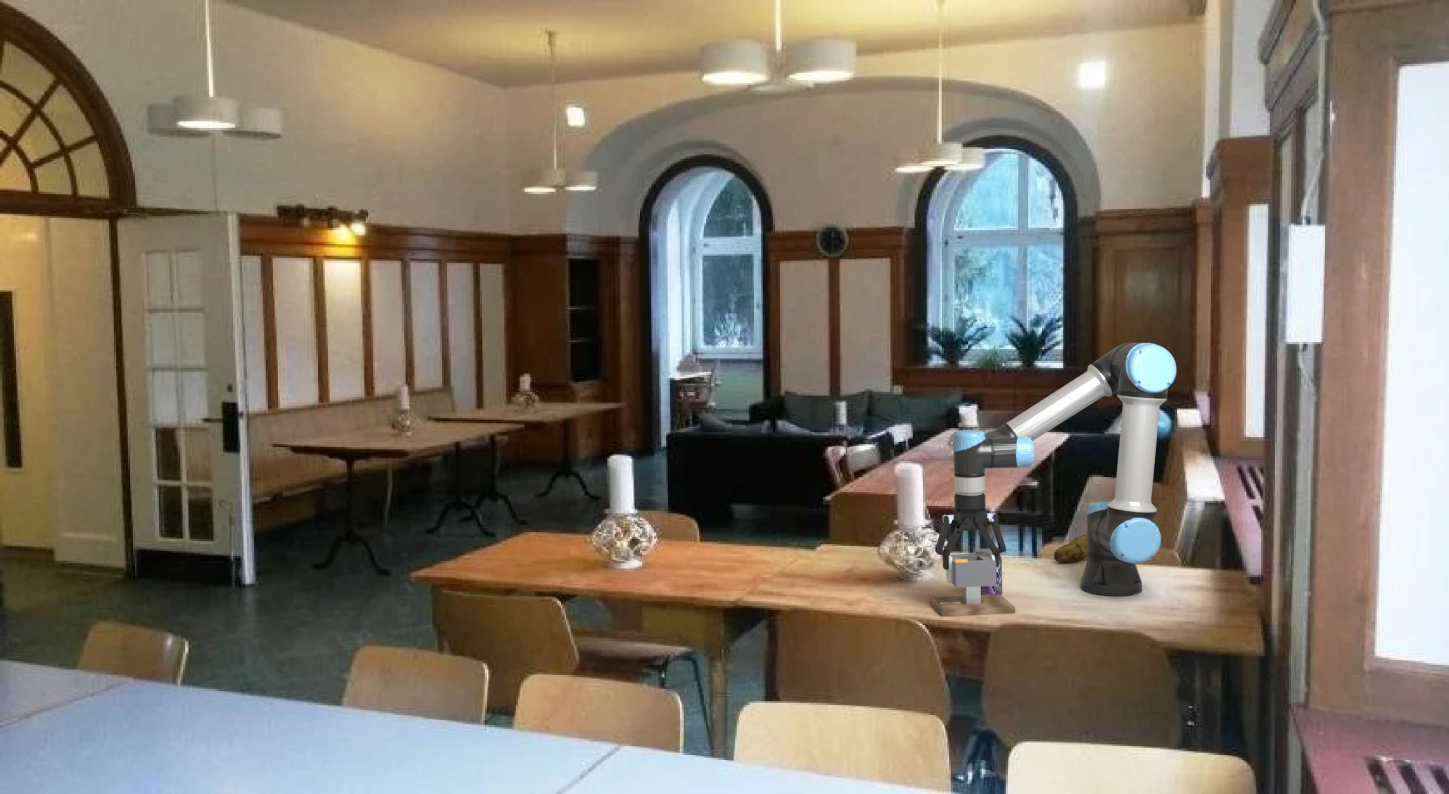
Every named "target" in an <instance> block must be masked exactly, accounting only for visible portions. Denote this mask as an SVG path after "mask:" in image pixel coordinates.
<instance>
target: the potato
mask: <svg viewBox="0 0 1449 794" xmlns="http://www.w3.org/2000/svg"><path fill="white" fill-rule="evenodd" d="M1053 558H1054V560H1055V561H1056V562H1057V563H1059V564H1066V563H1067V564H1071V563H1078V562H1081V561H1083V560H1085V559H1086V558H1087V559H1088V543H1087V533H1086V534H1081V535H1080V536H1077V537H1075V538H1074V539H1072V540H1071V541H1070V542H1068V544H1064V545H1062V546H1060V547H1059V548H1057V549H1056V550H1055V551H1054V552H1053Z"/></svg>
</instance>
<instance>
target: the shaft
mask: <svg viewBox="0 0 1449 794" xmlns="http://www.w3.org/2000/svg"><path fill="white" fill-rule="evenodd" d="M962 596H963V601H964V602H965V603H966V604H981V587H962Z"/></svg>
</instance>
